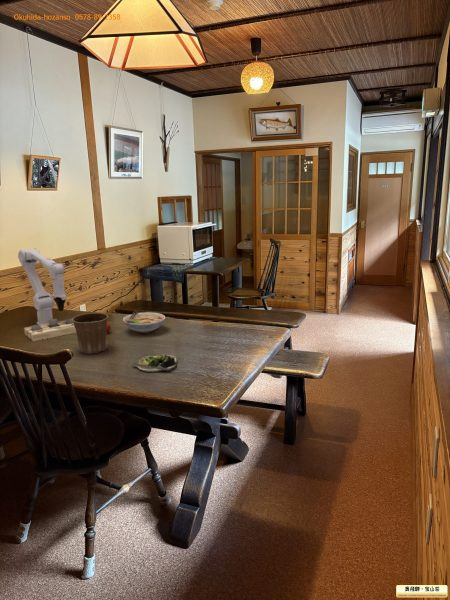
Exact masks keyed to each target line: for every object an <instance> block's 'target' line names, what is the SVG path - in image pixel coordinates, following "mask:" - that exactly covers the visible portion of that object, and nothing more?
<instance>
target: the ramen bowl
mask: <svg viewBox="0 0 450 600" xmlns="http://www.w3.org/2000/svg"><path fill="white" fill-rule="evenodd" d="M165 320H166V316H165V315H164V314H162V313H159V312H151V311H147V312H140V311H139V310H136V309H135V310H134V311H133V312H132V314H129V315H126V316H124V317H123V318H122V322H123V323H124V324H125V326H126V327H128V329H130V330H132V331H134V332H138V333H143V334H144V333H146V334H147V333H150V332H152V331H154V330H157V329H158V328H160V327H161V326H162V325H163V323H164V322H165Z"/></svg>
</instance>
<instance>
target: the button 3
mask: <svg viewBox="0 0 450 600" xmlns="http://www.w3.org/2000/svg"><path fill="white" fill-rule="evenodd" d="M72 319H73V318H67V319H65V320H66V324H67V325H68V324H73V323H74V322H73V321H72Z"/></svg>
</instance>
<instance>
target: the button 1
mask: <svg viewBox="0 0 450 600" xmlns="http://www.w3.org/2000/svg"><path fill="white" fill-rule="evenodd" d="M30 327H31V328H32V331H36V330H41V326H40V325H38V324H34V325H33V324H32V325H31V326H30Z"/></svg>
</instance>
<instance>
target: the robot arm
mask: <svg viewBox="0 0 450 600" xmlns="http://www.w3.org/2000/svg"><path fill="white" fill-rule="evenodd" d="M17 255H18V256H17V258H18V260H19V263H20V265H21V267H23V270H24V272H25V274H26V276H27V279H28V280H29V283H30V285H31V288H32V290H33V291H34V292H33V293H34V294H35V295H34V296H33V297H32V301H33V306H34V308H35V309H36V311H37V312H36V315H37V322H36V325H43V324H48V323H49V320H50V319H54V318H53V308H54V306H55V305H56V307H57V309H58V311H59V312H63V311H64V309H65V308H64V307H65V303H66V300H67V295H66V292H65V283H64V274H65V271H66V268H65V265H64V264H63V263H59V262H58V263H57V262H56V261H54V260H52V258H50V257H45V256H43V255H42V254H41V252H40V250H39V249H38V248H29V249H20V250H19V251H18V253H17ZM37 263H40V264H41V266H42V267H43V268H44V269H45V270H47V271H48V273H49V275H50V279H51V282H52V283H51V284H52V294H51V293H50V292H48V291H45V288H44V286H43V283H42V282H41V279H40V277H39V274H38V272H37V270H36V268H35V266H36V265H37Z"/></svg>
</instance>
